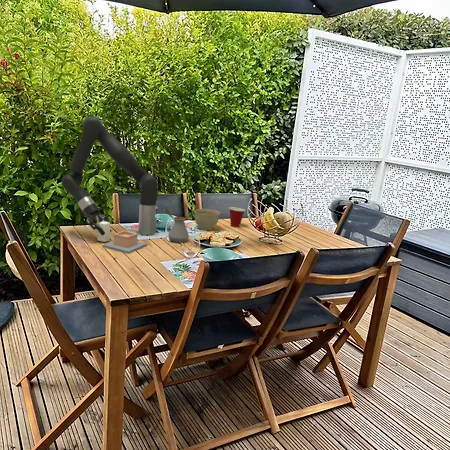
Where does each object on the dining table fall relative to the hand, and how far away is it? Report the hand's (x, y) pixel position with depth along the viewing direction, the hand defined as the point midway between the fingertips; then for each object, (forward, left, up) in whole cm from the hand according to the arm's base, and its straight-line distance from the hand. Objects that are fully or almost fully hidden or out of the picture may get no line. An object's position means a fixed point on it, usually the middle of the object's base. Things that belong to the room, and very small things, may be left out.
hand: (106, 233), depth 212 cm
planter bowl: (-66, +2, -5) cm, 66 cm away
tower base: (-5, +10, -5) cm, 12 cm away
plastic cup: (-88, +6, -5) cm, 89 cm away
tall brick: (+1, -2, -4) cm, 5 cm away
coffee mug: (-42, -23, -5) cm, 48 cm away
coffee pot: (-36, +9, -5) cm, 38 cm away
